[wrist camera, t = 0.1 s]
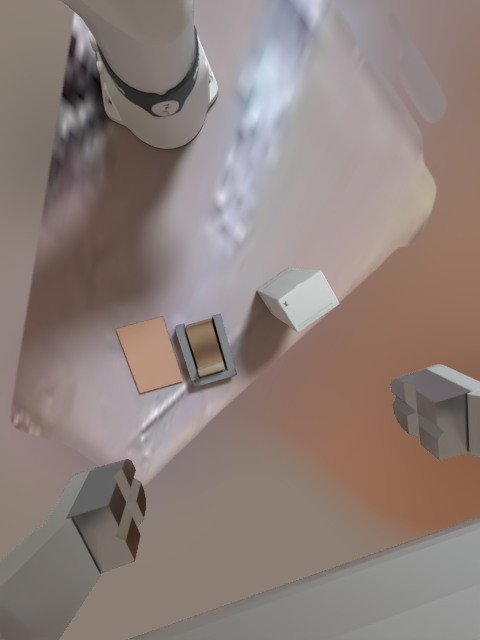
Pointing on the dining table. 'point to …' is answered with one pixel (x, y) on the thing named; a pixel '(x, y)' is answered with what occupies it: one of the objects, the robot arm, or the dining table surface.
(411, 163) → the dining table surface
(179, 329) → the frame
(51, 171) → the dining table surface
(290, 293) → the skincare box
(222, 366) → the walnut block
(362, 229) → the dining table surface
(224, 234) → the dining table surface
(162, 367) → the rubber pad
